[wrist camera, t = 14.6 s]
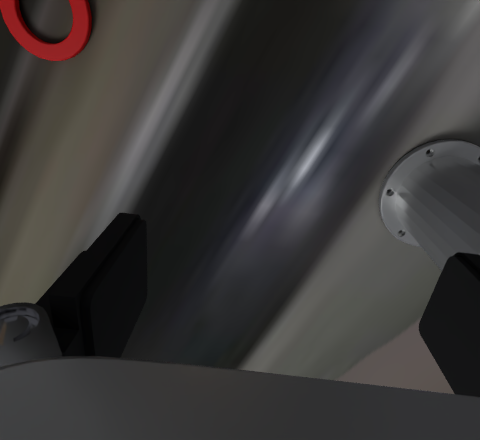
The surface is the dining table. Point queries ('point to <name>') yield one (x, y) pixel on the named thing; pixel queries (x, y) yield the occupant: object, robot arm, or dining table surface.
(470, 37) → the dining table surface
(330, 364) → the dining table surface
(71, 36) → the tow hook
